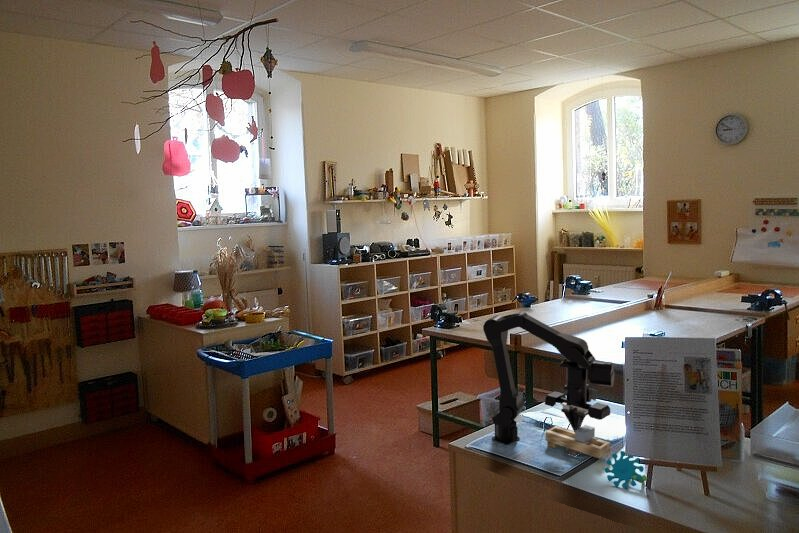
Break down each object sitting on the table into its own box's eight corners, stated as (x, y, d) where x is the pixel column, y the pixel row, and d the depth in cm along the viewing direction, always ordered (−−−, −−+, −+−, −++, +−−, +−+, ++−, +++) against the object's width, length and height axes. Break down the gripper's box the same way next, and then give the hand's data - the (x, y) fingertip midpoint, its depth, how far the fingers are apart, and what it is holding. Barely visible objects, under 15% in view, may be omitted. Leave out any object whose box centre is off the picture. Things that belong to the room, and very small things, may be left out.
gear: (597, 475, 162) (614, 443, 165) (603, 483, 166) (620, 452, 169) (635, 495, 154) (653, 462, 157) (641, 503, 158) (658, 471, 161)
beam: (545, 446, 184) (544, 431, 184) (556, 440, 189) (556, 425, 188) (599, 465, 171) (599, 449, 171) (610, 457, 176) (610, 441, 175)
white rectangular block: (574, 445, 177) (575, 430, 176) (585, 439, 181) (585, 424, 180) (584, 448, 175) (584, 433, 174) (594, 441, 178) (594, 427, 178)
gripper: (619, 381, 176) (619, 432, 178) (563, 369, 189) (563, 416, 191) (600, 391, 168) (600, 444, 170) (543, 377, 182) (543, 427, 184)
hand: (576, 432), depth 179 cm, fingers closed
